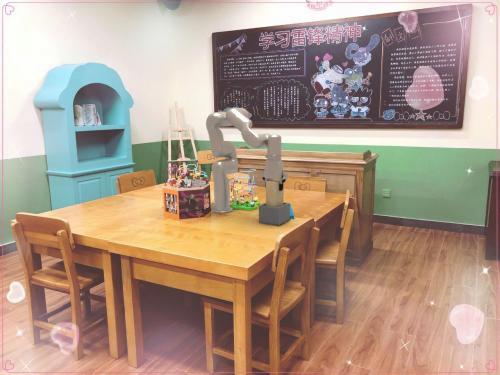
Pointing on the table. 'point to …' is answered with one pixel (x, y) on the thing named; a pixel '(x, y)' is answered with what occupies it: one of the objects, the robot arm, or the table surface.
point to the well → (274, 214)
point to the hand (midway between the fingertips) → (274, 189)
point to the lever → (291, 213)
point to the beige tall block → (274, 193)
